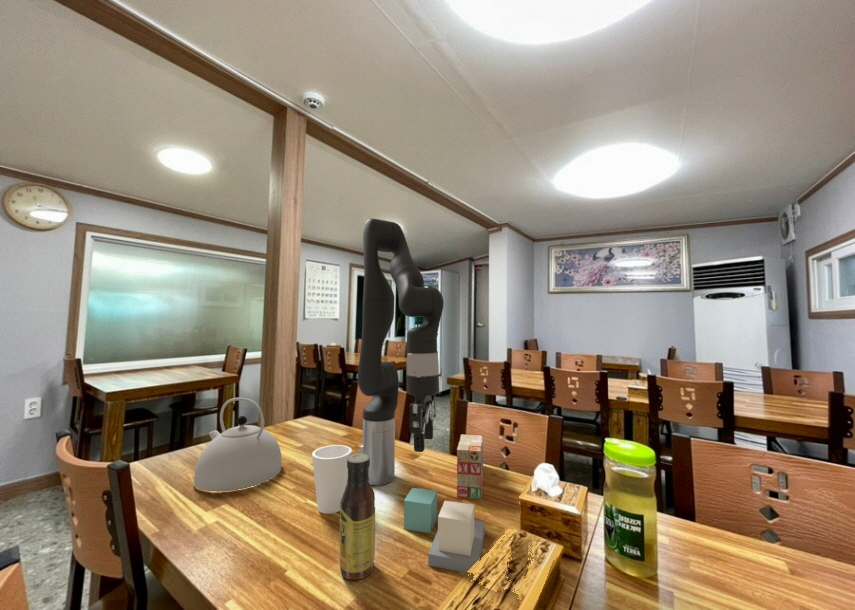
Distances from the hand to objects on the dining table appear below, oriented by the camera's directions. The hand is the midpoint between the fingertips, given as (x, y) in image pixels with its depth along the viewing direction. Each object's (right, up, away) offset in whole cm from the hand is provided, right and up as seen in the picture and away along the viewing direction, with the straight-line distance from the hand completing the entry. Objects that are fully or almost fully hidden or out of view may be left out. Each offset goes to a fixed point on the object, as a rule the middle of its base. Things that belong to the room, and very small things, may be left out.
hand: (424, 444), depth 76 cm
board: (+7, -16, -10) cm, 20 cm away
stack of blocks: (+13, -19, +19) cm, 30 cm away
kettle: (-56, -19, +23) cm, 64 cm away
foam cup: (-23, -17, +5) cm, 29 cm away
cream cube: (+6, -14, -12) cm, 19 cm away
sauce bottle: (-12, -16, -16) cm, 26 cm away
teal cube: (-1, -17, -2) cm, 17 cm away
